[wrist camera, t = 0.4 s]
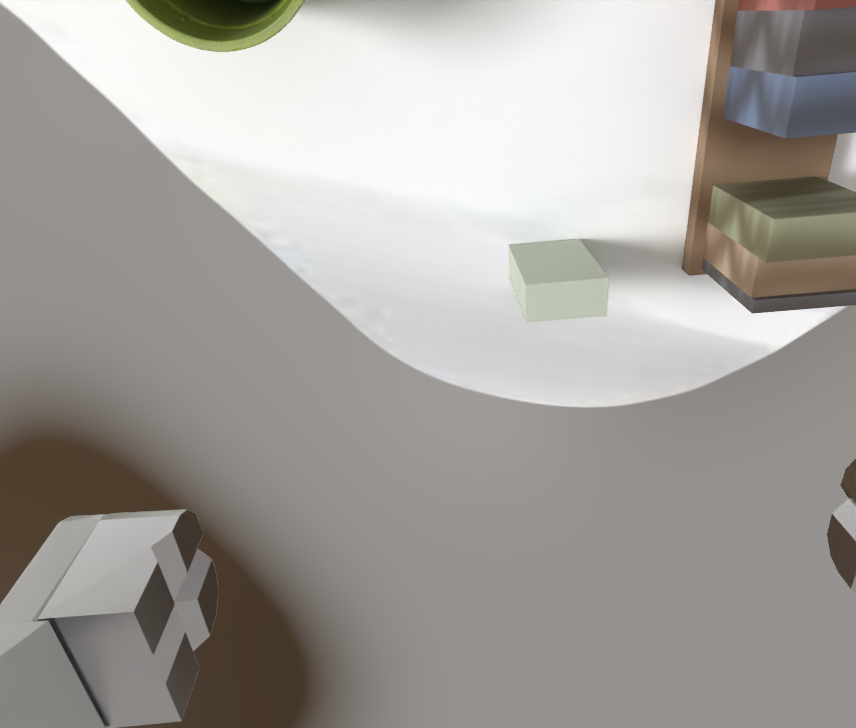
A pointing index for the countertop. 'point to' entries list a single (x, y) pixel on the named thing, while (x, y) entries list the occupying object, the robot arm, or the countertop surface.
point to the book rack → (776, 155)
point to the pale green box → (557, 280)
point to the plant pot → (218, 21)
